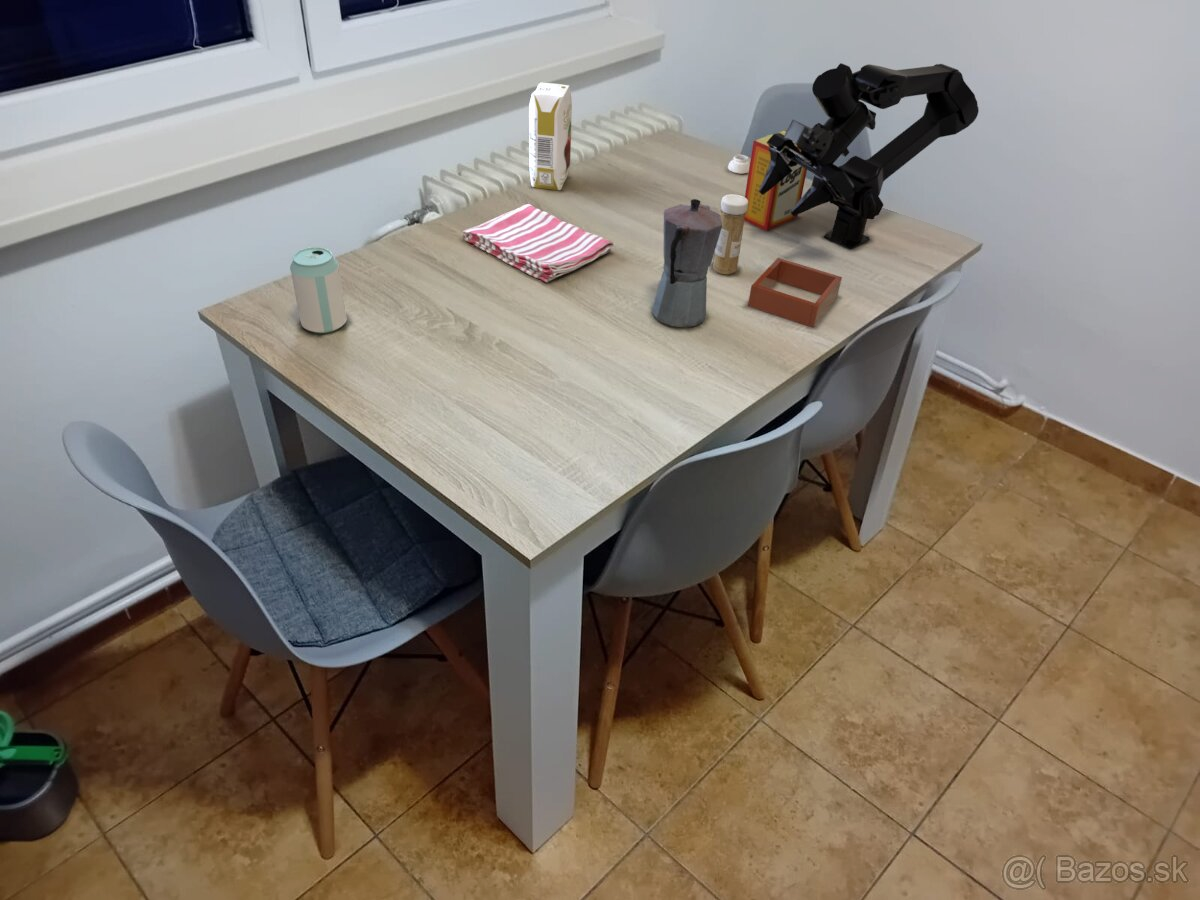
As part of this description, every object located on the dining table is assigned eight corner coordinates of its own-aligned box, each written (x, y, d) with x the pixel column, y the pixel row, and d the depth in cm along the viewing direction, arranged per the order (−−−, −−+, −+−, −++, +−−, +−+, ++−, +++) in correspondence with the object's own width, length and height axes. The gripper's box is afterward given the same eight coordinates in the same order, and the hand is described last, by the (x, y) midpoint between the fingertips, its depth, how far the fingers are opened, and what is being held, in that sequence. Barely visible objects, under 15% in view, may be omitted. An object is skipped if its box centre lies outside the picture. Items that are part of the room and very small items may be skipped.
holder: (774, 277, 162) (778, 257, 159) (837, 297, 158) (842, 277, 155) (747, 306, 154) (751, 285, 152) (813, 327, 150) (818, 306, 147)
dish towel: (550, 286, 156) (550, 268, 154) (459, 239, 167) (458, 222, 165) (615, 253, 166) (616, 236, 164) (526, 211, 177) (525, 194, 175)
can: (298, 316, 145) (284, 248, 137) (342, 308, 147) (331, 241, 140) (305, 339, 140) (292, 270, 133) (351, 331, 143) (340, 262, 135)
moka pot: (718, 300, 155) (734, 189, 142) (695, 346, 144) (711, 230, 131) (664, 288, 157) (676, 178, 144) (637, 333, 146) (648, 218, 133)
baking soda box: (772, 206, 185) (786, 128, 174) (797, 217, 181) (813, 138, 171) (741, 218, 180) (753, 139, 169) (766, 231, 176) (780, 150, 166)
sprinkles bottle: (739, 275, 162) (750, 205, 153) (713, 275, 162) (724, 204, 153) (735, 263, 165) (746, 193, 157) (710, 262, 165) (720, 192, 156)
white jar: (749, 176, 195) (751, 167, 199) (751, 163, 193) (753, 154, 197) (726, 173, 196) (728, 164, 200) (728, 160, 194) (730, 151, 198)
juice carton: (527, 188, 185) (526, 94, 173) (536, 171, 192) (536, 79, 180) (563, 193, 185) (565, 98, 172) (571, 176, 191) (574, 83, 179)
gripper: (784, 85, 157) (723, 157, 160) (856, 123, 145) (788, 200, 147) (811, 124, 165) (752, 192, 168) (881, 163, 153) (816, 235, 156)
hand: (775, 203), depth 159 cm, fingers open, 9 cm apart
